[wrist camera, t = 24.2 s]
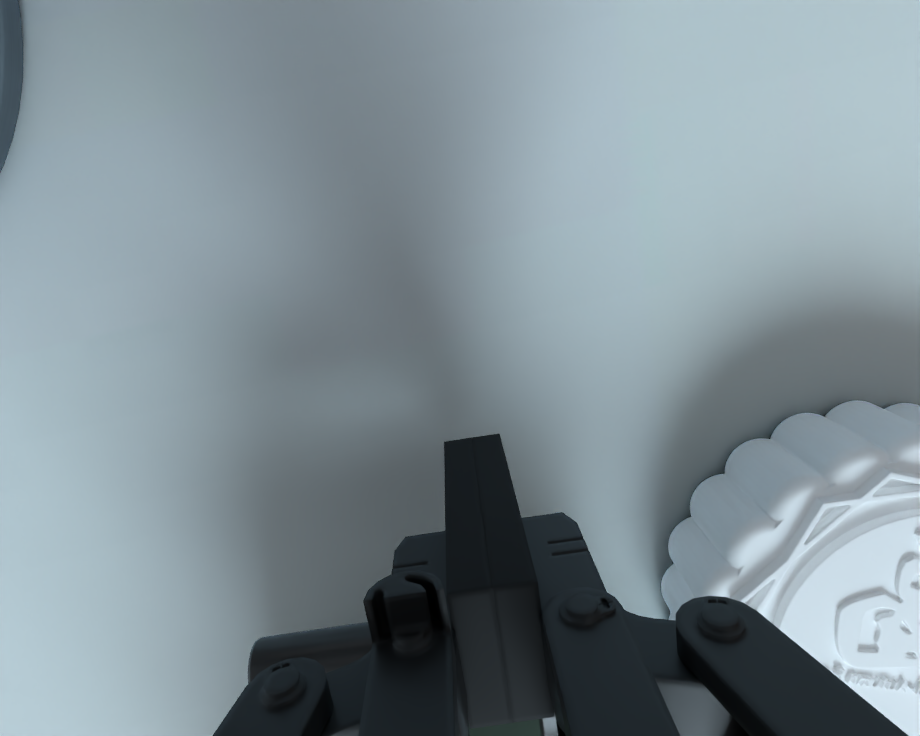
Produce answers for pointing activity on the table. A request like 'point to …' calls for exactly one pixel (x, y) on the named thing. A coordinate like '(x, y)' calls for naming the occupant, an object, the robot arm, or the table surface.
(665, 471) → the table surface
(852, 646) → the mooncake
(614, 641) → the robot arm
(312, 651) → the drawer
